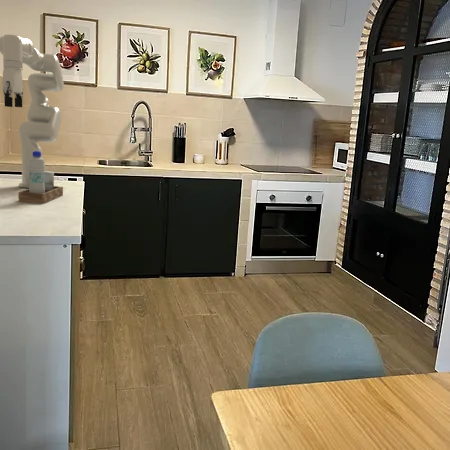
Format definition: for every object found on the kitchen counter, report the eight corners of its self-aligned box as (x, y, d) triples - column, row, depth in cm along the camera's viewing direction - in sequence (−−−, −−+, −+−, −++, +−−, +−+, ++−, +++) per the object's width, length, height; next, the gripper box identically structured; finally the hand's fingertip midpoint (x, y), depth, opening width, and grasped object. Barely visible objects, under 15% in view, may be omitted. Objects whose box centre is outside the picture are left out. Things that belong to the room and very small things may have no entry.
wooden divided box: (39, 193, 232) (39, 169, 229) (62, 195, 232) (62, 171, 229) (18, 201, 210) (18, 175, 208) (44, 203, 210) (44, 177, 208)
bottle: (48, 197, 218) (48, 151, 213) (37, 199, 212) (36, 151, 207) (37, 195, 220) (36, 149, 216) (25, 197, 214) (24, 150, 210)
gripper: (13, 67, 223) (13, 106, 226) (-6, 63, 206) (-5, 105, 210) (30, 68, 223) (30, 107, 226) (12, 64, 206) (13, 107, 209)
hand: (13, 106), depth 218 cm, fingers open, 9 cm apart
